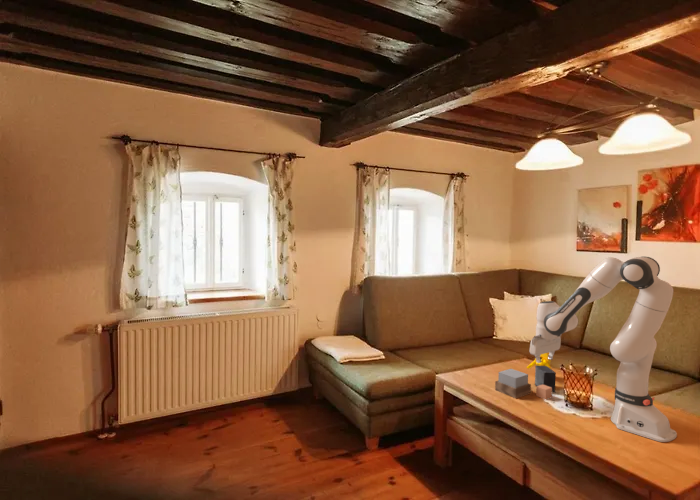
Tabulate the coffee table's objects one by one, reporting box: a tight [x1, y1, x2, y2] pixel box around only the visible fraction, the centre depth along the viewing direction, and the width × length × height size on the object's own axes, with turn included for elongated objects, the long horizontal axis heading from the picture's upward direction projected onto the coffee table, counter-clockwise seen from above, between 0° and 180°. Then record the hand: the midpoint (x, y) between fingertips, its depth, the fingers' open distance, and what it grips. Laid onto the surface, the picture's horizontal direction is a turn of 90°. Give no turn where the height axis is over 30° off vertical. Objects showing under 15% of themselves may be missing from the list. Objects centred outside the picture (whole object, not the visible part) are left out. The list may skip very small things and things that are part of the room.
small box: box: [534, 365, 557, 393], centre depth 210 cm, size 11×6×10 cm, turn 179°
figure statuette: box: [526, 352, 553, 370], centre depth 225 cm, size 18×8×22 cm, turn 29°
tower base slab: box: [494, 380, 532, 399], centre depth 206 cm, size 12×12×5 cm
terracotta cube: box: [535, 384, 553, 400], centre depth 200 cm, size 5×5×5 cm
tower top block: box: [497, 368, 529, 388], centre depth 206 cm, size 10×10×5 cm
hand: (544, 361), depth 200 cm, fingers open, 8 cm apart
